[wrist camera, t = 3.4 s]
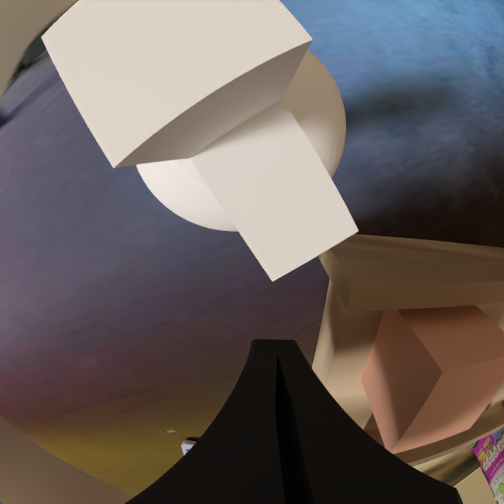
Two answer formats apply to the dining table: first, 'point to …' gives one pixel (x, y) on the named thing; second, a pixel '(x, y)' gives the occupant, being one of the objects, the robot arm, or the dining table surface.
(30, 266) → the dining table surface
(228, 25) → the chess piece
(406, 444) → the terracotta block
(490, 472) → the candy bar box
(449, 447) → the tray
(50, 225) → the dining table surface
